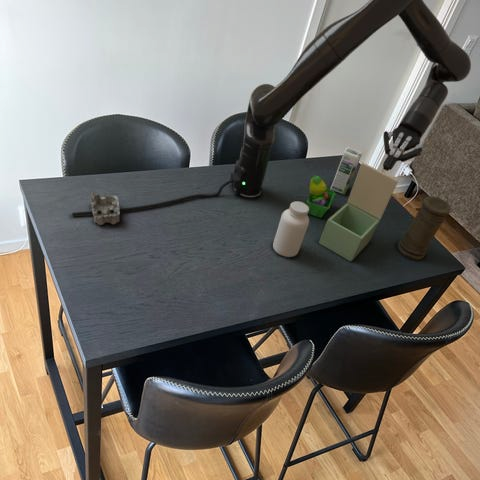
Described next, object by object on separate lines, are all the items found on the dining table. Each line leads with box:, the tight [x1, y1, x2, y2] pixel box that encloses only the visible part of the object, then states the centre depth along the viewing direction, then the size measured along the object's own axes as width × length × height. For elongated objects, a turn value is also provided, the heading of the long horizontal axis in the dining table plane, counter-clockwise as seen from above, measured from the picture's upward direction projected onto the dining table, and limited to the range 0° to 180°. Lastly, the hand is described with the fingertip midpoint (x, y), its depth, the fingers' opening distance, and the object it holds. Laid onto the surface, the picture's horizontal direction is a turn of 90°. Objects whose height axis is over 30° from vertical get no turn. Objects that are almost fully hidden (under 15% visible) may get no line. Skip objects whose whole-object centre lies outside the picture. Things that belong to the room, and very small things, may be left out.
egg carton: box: [90, 192, 121, 226], centre depth 131 cm, size 11×8×4 cm
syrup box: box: [329, 146, 363, 196], centre depth 162 cm, size 6×6×14 cm
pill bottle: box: [272, 200, 310, 258], centre depth 132 cm, size 8×8×15 cm
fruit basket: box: [306, 175, 336, 219], centre depth 151 cm, size 11×9×11 cm
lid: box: [346, 162, 399, 220], centre depth 137 cm, size 14×12×1 cm
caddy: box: [318, 202, 381, 262], centre depth 142 cm, size 14×12×9 cm
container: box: [397, 195, 452, 261], centre depth 143 cm, size 9×9×18 cm
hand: (385, 169), depth 136 cm, fingers closed
